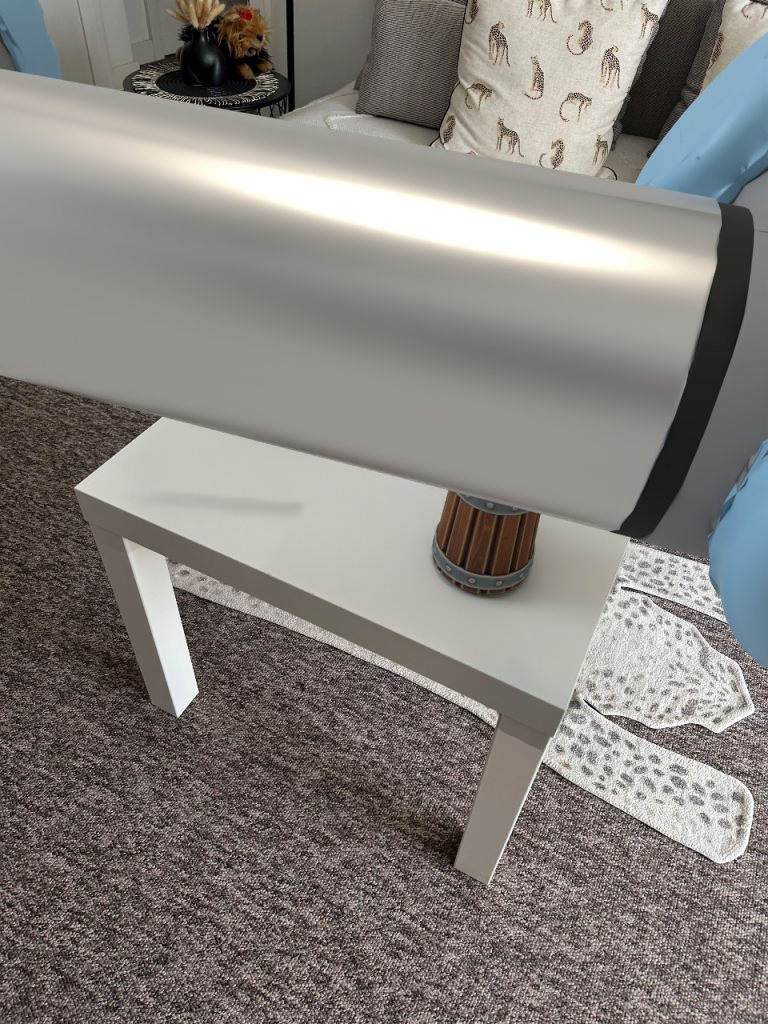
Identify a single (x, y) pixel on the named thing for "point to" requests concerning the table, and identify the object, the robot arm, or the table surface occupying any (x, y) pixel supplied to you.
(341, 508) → the table surface
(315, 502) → the table surface
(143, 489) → the table surface
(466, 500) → the mug
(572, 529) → the table surface
